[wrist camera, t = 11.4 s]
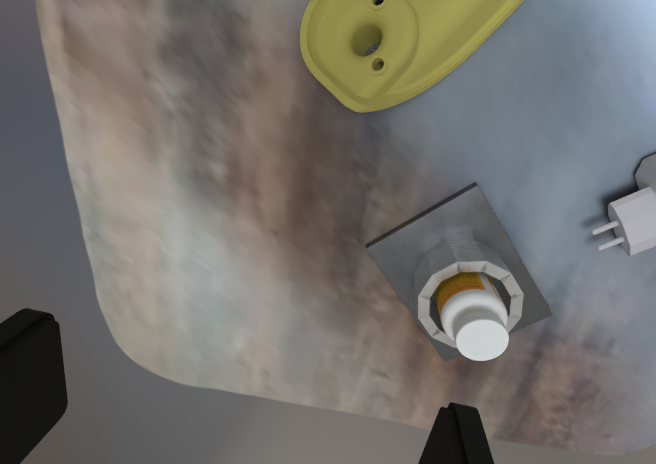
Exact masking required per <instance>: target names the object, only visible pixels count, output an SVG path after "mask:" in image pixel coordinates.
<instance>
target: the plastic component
mask: <svg viewBox="0 0 656 464" xmlns="http://www.w3.org/2000/svg"><path fill="white" fill-rule="evenodd" d="M375 1H376V0H310V2H309V4H308V6H307V8H306V10H305V13H304V16H303V19H302V23H301V27H300V48H301V53H302V56H303V59H304V61H305V63H306V66H307V67H308V69H309V70H310V71H311V73H312V74H313V75H314V76H315V78H316V79H317V80H318V81H319V82H320V83H321V84H323V85H324V86H325V87H326V88H327V89H328V90H329V91H330V92H331V93H332V94H333V95H334V96H335V97H336V98H337V99H338V100H339V101H340V102H341V103H342V104H343V105H345V106H346V107H347V108H349V109H351V110H353V111H356V112H373V111H378V110H383V109H386V108H389V107H392V106H395V105H397V104H400V103H402V102H404V101H407V100H409V99H411V98H413V97H415V96H416V95H418V94H420V93H422V92H424V91H425V90H427V89H428V88H430V87H431V86H433V85H435V84H436V83H438V82H439V81H441V80H442V79H443V78H444V77H446V76H447V75H448V74H450V73H451V72H452V71H453V70H455V69H456V68H457V67H458V66H459V65H460V64H462V63H463V62H464V61H465V60H466V59H467V58H468V57H469V56H471V55H472V54H473V53H474V52H475V51H476V50H477V49H478V48H479V47H480V46H481V45H482V44H483V43H484V42H485V41H486V40H487V39H488V38H489V36H490V35H491V34H492V33H493V32H494V31H495V30H496V29H497V28H498V27H499V26H500V25H501V24H502V23H503V22H504V21H505V20H506V19H507V18H508V17H509V16H510V15H511V14H512V13H513V12H514V11H515V10H516V9H517V7H518V6H519V5H520V4H521V3H522V2H523V1H524V0H384V1H383V2H382V3H381V4H380V5H378V6H377V5H374V3H375ZM378 43H381V44H380V46H379V47H378V49H377V50H376V51H375V52H374V53H372V54H370V55H368V56H365V53H366V51H367V50H368V49H369V47H371V46H372V45H374V44H378Z"/></svg>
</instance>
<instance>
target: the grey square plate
mask: <svg viewBox="0 0 656 464" xmlns="http://www.w3.org/2000/svg"><path fill="white" fill-rule="evenodd" d="M366 250H367V251H368V253H369V254H370V256H371V257H372V258H373V260H374V261H375V263H376V264H377V266H378V267H379V268H380V270H381V271H382V273H383V274H384V276H385V277H386V278H387V280H388V281H389V283H390V284H391V286H392V287H393V288H394V290H395V291H396V293H397V294H398V296H399V297H400V298H401V300H402V301H403V303H404V304H405V306H406V307H407V308H408V310H409V311H410V313H411V314H412V316H413V317H414V318H415V320H416V321H417V323H418V324H419V326H420V327H421V328H422V330H423V331H424V333H425V334H426V336H427V337H428V338H429V340H430V341H431V343H432V344H433V346H434V347H435V348H436V350H437V351H438V353H439V354H440V356H441V357H442V358H443V360H444V361H445V362H446V361H448V360H450V359H453V358H455V357H457V356H460V355H462V354H461V353H460V351H459V350H458V348H457V346H456V343H455V341H453V340H452V339H451V338H450V337H449V336H448V335H447V334H446V332H445V331H444V329H443V326H442V323H441V319H440V315H439V310H438V307H437V302H436V298H435V294H434V291H435V290H436V288H437V287H438V285H439V284H440V282H442V281H444V280H446V279H448V278H450V277H452V276H454V275H456V274H458V273H460V272H484V273H486V274H488V275H489V276H490V278H491V280H492V282H493V284H494V286H495V288H496V290H497V292H498V294H499V296H500V298H501V299H502V301H503V303H504V305H505V308H506V311H507V315H508V321H507V326H506V330H507V332H508V334H510V333H512V332H514V331H517V330H519V329H521V328H524V327H526V326H528V325H530V324H533V323H535V322H537V321H540V320H542V319H544V318H546V317H549V316H551V315H553V314H552V313H551V311H550V309H549V308H548V306H547V304H546V302H545V301H544V299H543V297H542V295H541V294H540V292H539V290H538V289H537V287H536V285H535V283H534V282H533V280H532V278H531V276H530V275H529V273H528V271H527V270H526V268H525V266H524V264H523V263H522V261H521V259H520V257H519V256H518V254H517V252H516V251H515V249H514V247H513V245H512V244H511V242H510V240H509V238H508V237H507V235H506V233H505V232H504V230H503V228H502V226H501V225H500V223H499V221H498V219H497V218H496V216H495V214H494V213H493V211H492V209H491V207H490V206H489V204H488V202H487V200H486V199H485V197H484V195H483V194H482V192H481V190H480V188H479V187H478V185H477V184H476V183H474V184H472V185H470V186H468V187H467V188H465V189H463V190H461V191H460V192H458V193H456V194H454V195H453V196H451V197H449V198H447V199H446V200H444V201H442V202H440V203H439V204H437V205H435V206H433V207H432V208H430V209H428V210H426V211H425V212H423V213H421V214H419V215H418V216H416V217H414V218H412V219H411V220H409V221H407V222H405V223H404V224H402V225H400V226H398V227H397V228H395V229H393V230H391V231H390V232H388V233H386V234H384V235H383V236H381V237H379V238H377V239H376V240H374V241H372V242H370V243H369V244H367V245H366Z"/></svg>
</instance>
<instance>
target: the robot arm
mask: <svg viewBox="0 0 656 464" xmlns="http://www.w3.org/2000/svg"><path fill="white" fill-rule="evenodd" d="M67 403H68V400H67V391H66V382H65V374H64V364H63V355H62V346H61V337H60V327H59V323H58V322H57V321H55V319H54V316H53V315H52V314H50V313H46V312H42V311H37V310H32V309H28V308H26V309H22V310H20V311H18V312H17V313H15V314H14V315H13V316H11V317H9V318H8V319H6V320H5V321H3V322H2V323H0V464H20V463H21V462H22V461H23V459H24V458H25V457H26V456H27V455H28V454H29V453H30V452H31V451H32V450H33V449H34V447H35V446H36V445H37V444H38V443H39V442H40V441H41V440H42V438H43V437H44V436H45V435H46V434H47V433H48V432H49V431H50V430H51V428H52V427H53V426H54V425H55V424H56V423H57V422H58V421H59V420H60V418H61V417H62V416H63V414H64V413H65V410H66V408H67ZM418 464H494V462H493V458H492V455H491V452H490V448H489V445H488V442H487V438H486V435H485V432H484V428H483V425H482V422H481V418H480V415H479V412H478V410H477V409H476V408H475V407H470V406H466V405H461V404H457V403H450V404H449V405H448V407H447V408H445V407H441V408H440V410H439V412H438V415H437V417H436V420H435V422H434V425H433V427H432V430H431V433H430V435H429V438H428V440H427V443H426V446H425V448H424V451H423V453H422V456H421V458H420V461H419V463H418Z"/></svg>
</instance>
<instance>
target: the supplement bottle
mask: <svg viewBox="0 0 656 464" xmlns="http://www.w3.org/2000/svg"><path fill="white" fill-rule="evenodd" d="M434 294H435V298H436V302H437V307H438V310H439V315H440V319H441V323H442V326H443V329H444V331H445V332H446V334H447V335H448V336H449V337H450V338H451V339H452V340H453V341H455V343H456V346H457V348H458V350H459V351H460V353H461V354H463V355H464V356H465V357H467V358H469V359H472V360H477V361H485V360H490V359H493V358H495V357H497V356H499V355H500V354H502V353H503V352H504V350H505V349H506V347H507V345H508V342H509V336H508V332H507V330H506V326H507V321H508V315H507V311H506V308H505V305H504V303H503V301H502V299H501V298H500V296H499V294H498V292H497V290H496V288H495V286H494V284H493V282H492V280H491V278H490V276H489V275H488V274H486V273H484V272H460V273H458V274H456V275H454V276H452V277H450V278H448V279H446V280H444V281H442V282H440V284H439V285H438V287H437V288H436V290H435V291H434Z"/></svg>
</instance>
